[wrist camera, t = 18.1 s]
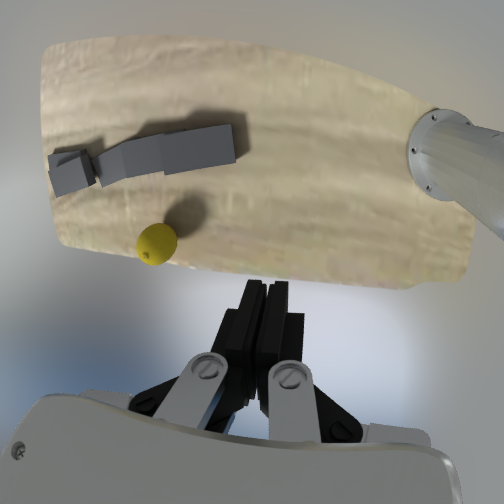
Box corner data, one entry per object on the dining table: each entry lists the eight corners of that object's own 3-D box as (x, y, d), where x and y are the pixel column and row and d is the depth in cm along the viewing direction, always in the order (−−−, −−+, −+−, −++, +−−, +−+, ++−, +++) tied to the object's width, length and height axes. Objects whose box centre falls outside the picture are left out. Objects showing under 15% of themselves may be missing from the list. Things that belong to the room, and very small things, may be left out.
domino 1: (80, 150, 37) (47, 155, 39) (83, 180, 40) (51, 181, 41) (88, 148, 39) (55, 152, 40) (91, 176, 42) (58, 178, 43)
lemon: (159, 209, 42) (132, 230, 35) (190, 227, 42) (168, 252, 35) (148, 237, 44) (123, 261, 37) (177, 254, 45) (155, 282, 38)
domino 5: (234, 160, 36) (167, 172, 36) (229, 123, 34) (160, 136, 33) (236, 162, 34) (164, 175, 34) (230, 123, 32) (157, 136, 32)
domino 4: (182, 129, 33) (119, 143, 34) (187, 166, 36) (126, 178, 36) (185, 128, 35) (125, 142, 36) (190, 164, 37) (131, 175, 38)
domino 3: (134, 137, 36) (92, 159, 38) (145, 169, 38) (102, 187, 40) (141, 136, 37) (99, 156, 40) (151, 167, 39) (109, 184, 42)
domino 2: (79, 156, 36) (47, 171, 38) (88, 186, 38) (56, 197, 40) (87, 153, 37) (55, 168, 40) (96, 182, 40) (63, 193, 42)
